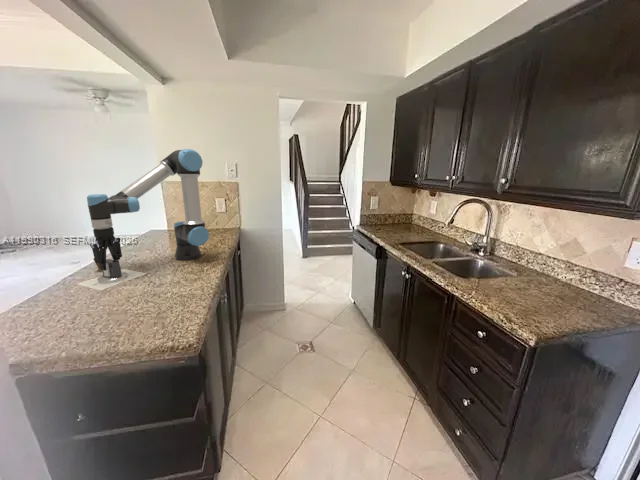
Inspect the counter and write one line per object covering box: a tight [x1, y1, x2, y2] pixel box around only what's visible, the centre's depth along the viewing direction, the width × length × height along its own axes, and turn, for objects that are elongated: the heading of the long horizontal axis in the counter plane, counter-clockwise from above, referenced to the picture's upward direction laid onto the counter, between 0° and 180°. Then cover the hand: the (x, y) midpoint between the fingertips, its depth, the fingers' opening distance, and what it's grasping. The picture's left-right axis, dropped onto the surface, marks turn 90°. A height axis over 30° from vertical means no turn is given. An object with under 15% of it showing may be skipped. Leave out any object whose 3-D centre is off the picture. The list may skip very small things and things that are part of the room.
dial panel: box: [76, 268, 147, 291], centre depth 133 cm, size 22×18×2 cm
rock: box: [93, 258, 103, 273], centre depth 146 cm, size 11×9×10 cm
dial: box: [97, 258, 128, 283], centre depth 132 cm, size 12×12×9 cm
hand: (112, 274), depth 133 cm, fingers closed on dial, 4 cm apart
